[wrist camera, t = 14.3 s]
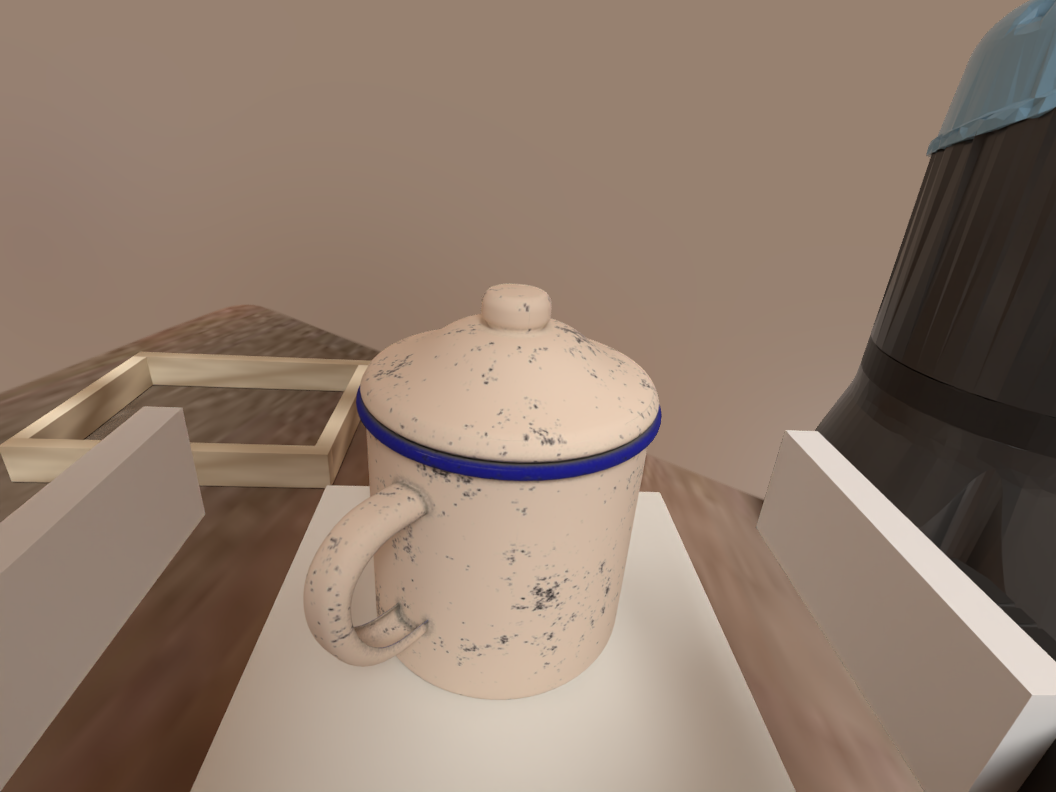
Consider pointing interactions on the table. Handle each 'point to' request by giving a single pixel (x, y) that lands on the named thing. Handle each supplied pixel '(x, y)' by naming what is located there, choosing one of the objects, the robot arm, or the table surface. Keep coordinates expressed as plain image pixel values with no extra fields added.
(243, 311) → the table surface
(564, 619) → the teacup with lid
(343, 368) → the cup holder
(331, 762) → the ceramic board
